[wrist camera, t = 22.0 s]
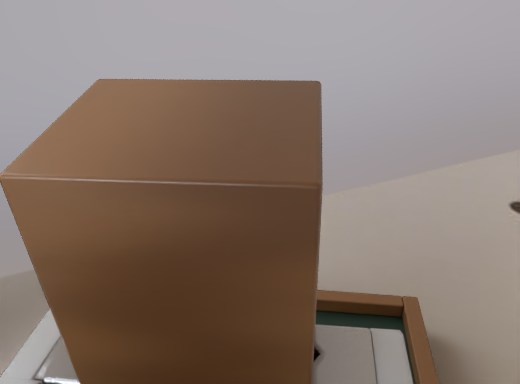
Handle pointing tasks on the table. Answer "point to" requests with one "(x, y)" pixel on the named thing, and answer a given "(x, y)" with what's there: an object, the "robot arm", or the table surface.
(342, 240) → the table surface
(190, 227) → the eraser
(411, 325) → the chalkboard
